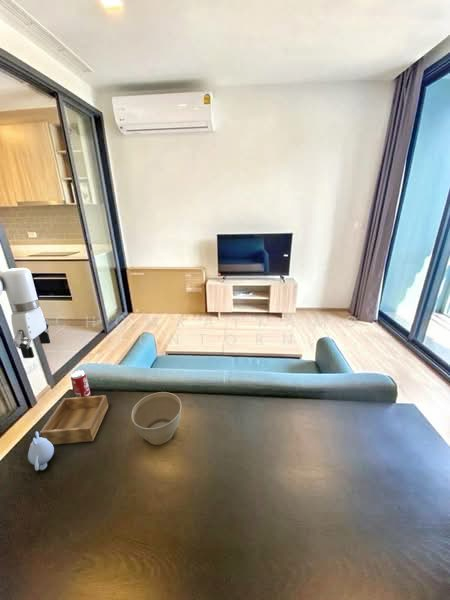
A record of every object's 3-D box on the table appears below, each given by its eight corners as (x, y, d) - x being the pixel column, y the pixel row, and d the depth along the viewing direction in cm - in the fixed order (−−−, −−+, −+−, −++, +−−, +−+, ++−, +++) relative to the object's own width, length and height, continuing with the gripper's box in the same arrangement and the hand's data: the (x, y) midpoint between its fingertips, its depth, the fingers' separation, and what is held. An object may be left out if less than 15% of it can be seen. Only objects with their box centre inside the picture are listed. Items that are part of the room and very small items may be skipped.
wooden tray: (44, 445, 83) (39, 432, 81) (67, 409, 97) (63, 398, 95) (92, 440, 84) (89, 428, 82) (108, 406, 98) (106, 395, 96)
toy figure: (38, 452, 80) (27, 424, 76) (60, 446, 82) (51, 418, 78) (27, 485, 71) (14, 454, 67) (53, 476, 73) (42, 447, 69)
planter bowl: (186, 414, 94) (184, 391, 91) (180, 453, 79) (177, 427, 75) (143, 415, 94) (139, 392, 90) (129, 455, 79) (124, 429, 75)
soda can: (87, 391, 107) (81, 367, 102) (93, 396, 104) (87, 372, 99) (74, 398, 103) (67, 374, 98) (80, 404, 100) (74, 379, 96)
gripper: (29, 297, 91) (41, 338, 97) (-7, 316, 75) (9, 364, 81) (51, 296, 92) (61, 338, 97) (19, 315, 75) (33, 363, 81)
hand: (37, 350), depth 89 cm, fingers open, 9 cm apart
